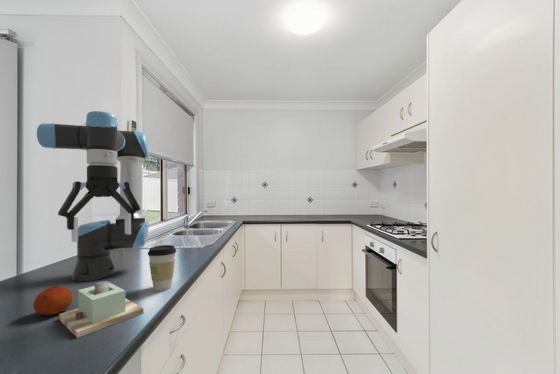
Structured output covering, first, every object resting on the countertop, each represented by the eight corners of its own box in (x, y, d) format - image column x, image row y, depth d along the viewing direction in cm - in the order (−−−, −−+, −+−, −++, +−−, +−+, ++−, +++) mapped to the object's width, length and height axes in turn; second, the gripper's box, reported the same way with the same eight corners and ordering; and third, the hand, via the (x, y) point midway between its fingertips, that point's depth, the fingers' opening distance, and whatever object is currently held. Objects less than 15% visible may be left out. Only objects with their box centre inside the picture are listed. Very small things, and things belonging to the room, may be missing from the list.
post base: (59, 319, 74) (58, 285, 74) (120, 300, 87) (120, 271, 87) (77, 338, 65) (76, 299, 65) (143, 313, 77) (143, 281, 77)
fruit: (80, 307, 82) (80, 281, 82) (49, 321, 73) (49, 292, 73) (58, 305, 84) (58, 280, 84) (26, 318, 75) (25, 290, 75)
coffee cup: (154, 283, 102) (153, 245, 102) (180, 282, 103) (179, 244, 103) (143, 293, 92) (142, 251, 92) (171, 292, 93) (171, 250, 93)
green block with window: (125, 311, 75) (125, 290, 75) (92, 322, 69) (92, 300, 69) (108, 301, 83) (108, 282, 83) (78, 310, 76) (77, 290, 76)
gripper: (50, 161, 65) (51, 246, 65) (151, 167, 85) (151, 232, 85) (43, 163, 69) (44, 243, 69) (140, 168, 89) (140, 230, 89)
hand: (103, 237), depth 77 cm, fingers open, 13 cm apart
